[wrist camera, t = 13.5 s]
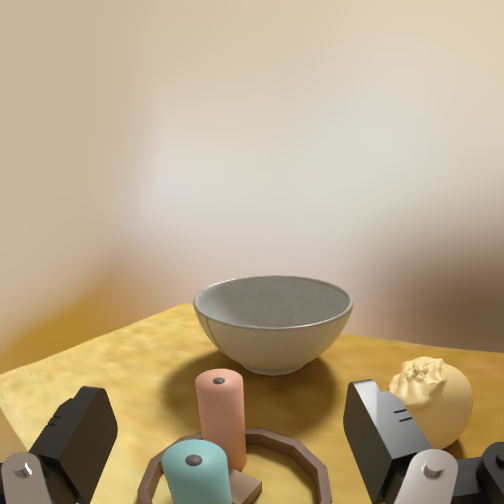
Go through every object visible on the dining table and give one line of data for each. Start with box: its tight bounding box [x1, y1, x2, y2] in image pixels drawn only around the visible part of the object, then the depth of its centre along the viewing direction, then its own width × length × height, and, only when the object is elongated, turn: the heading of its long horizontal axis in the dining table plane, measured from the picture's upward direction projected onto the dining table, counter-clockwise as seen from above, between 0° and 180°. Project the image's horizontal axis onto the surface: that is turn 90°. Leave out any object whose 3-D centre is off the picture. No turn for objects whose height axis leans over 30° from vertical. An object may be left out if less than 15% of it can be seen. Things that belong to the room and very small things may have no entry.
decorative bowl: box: [193, 275, 353, 376], centre depth 55 cm, size 27×27×12 cm
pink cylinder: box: [195, 369, 246, 471], centre depth 30 cm, size 5×5×12 cm
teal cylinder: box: [161, 439, 232, 504], centre depth 20 cm, size 5×5×12 cm
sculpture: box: [388, 357, 473, 450], centre depth 31 cm, size 11×12×11 cm
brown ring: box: [138, 428, 332, 504], centre depth 26 cm, size 19×19×2 cm
